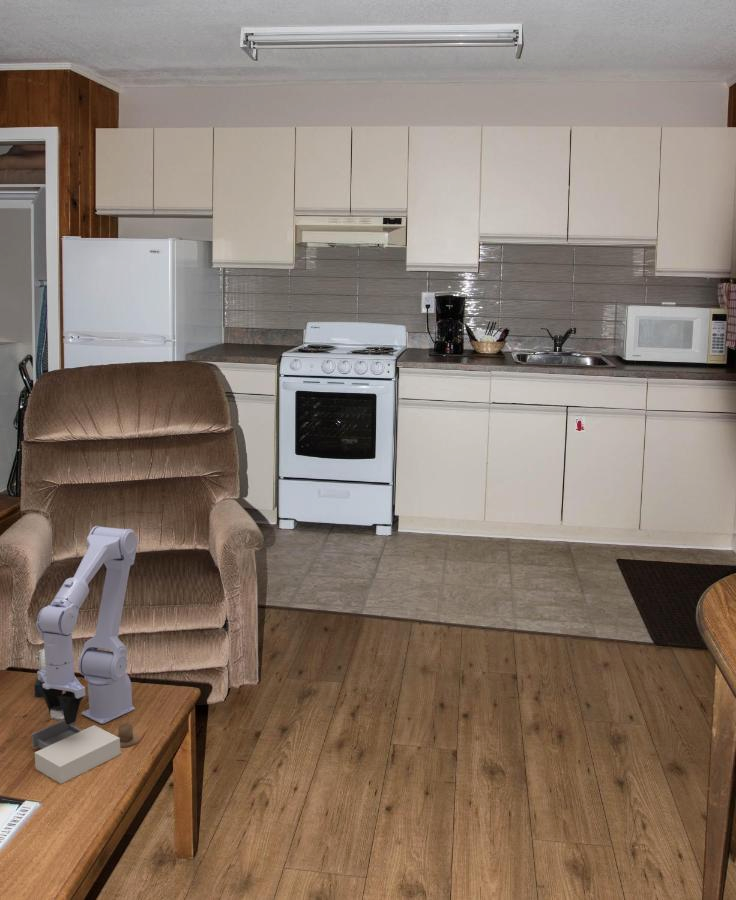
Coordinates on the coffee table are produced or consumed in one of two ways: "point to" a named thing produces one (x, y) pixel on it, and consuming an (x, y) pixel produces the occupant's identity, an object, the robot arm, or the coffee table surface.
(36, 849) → the coffee table surface
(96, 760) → the player
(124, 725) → the stand
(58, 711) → the disc
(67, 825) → the coffee table surface
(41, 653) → the watch
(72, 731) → the tray
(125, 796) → the coffee table surface
